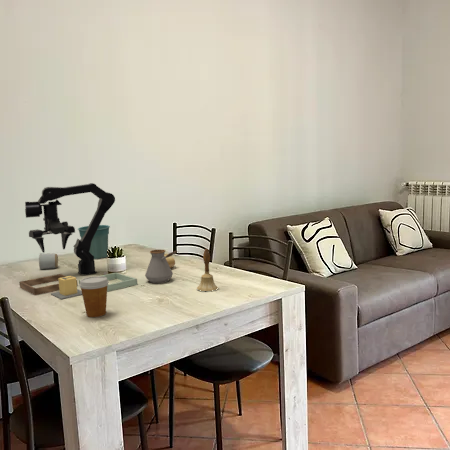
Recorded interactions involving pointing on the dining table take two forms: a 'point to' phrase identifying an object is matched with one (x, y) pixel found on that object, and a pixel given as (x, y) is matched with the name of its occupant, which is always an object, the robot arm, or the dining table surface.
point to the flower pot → (98, 241)
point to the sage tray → (125, 282)
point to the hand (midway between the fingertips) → (53, 250)
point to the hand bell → (207, 275)
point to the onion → (170, 261)
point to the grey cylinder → (48, 260)
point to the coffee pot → (159, 267)
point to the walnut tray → (36, 291)
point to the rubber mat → (60, 296)
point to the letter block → (67, 285)
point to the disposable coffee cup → (94, 295)
